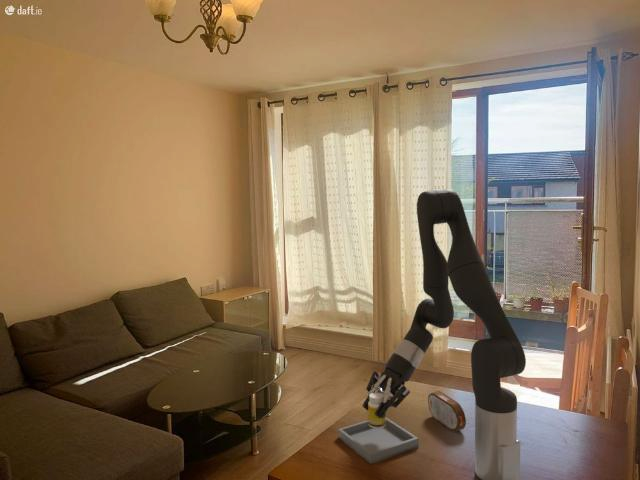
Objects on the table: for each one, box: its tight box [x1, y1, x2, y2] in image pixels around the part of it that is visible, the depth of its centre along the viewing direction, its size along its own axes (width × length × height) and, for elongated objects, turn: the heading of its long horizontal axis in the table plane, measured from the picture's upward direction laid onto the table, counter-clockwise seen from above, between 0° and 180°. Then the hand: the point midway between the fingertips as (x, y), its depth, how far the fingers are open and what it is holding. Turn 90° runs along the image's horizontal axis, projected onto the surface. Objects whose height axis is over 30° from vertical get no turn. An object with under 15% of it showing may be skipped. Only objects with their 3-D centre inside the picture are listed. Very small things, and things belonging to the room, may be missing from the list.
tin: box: [427, 390, 467, 432], centre depth 138 cm, size 15×3×8 cm, turn 22°
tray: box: [337, 417, 420, 465], centre depth 129 cm, size 16×16×2 cm
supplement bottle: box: [367, 392, 387, 429], centre depth 129 cm, size 5×5×8 cm
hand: (371, 412), depth 128 cm, fingers closed on supplement bottle, 4 cm apart
